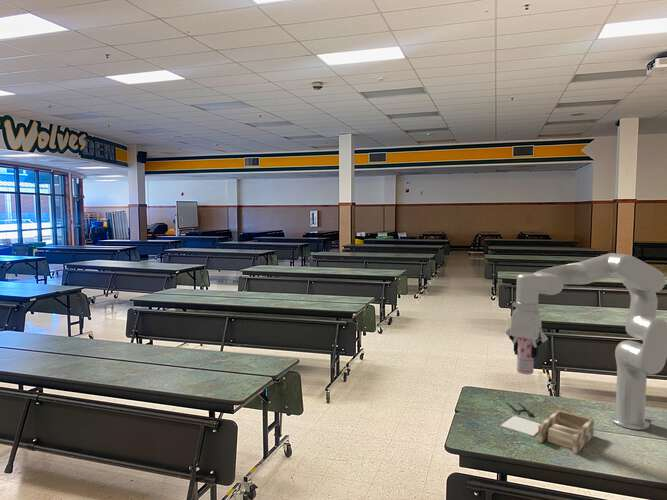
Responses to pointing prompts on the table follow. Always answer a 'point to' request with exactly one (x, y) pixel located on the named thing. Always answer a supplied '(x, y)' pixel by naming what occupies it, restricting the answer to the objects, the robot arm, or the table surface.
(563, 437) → the offcut upper
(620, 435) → the table surface
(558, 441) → the offcut lower
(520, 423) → the pad
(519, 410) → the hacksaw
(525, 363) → the beverage can
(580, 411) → the table surface
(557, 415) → the frame
